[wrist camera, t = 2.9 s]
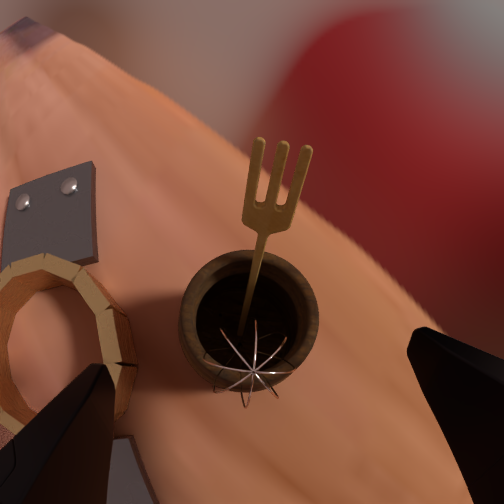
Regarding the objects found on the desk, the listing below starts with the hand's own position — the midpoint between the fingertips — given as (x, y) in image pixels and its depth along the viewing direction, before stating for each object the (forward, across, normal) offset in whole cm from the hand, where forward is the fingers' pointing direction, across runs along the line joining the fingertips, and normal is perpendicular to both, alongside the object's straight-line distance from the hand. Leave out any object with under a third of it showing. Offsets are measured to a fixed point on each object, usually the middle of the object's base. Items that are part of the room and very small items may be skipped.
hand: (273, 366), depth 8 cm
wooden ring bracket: (+7, +12, +6) cm, 15 cm away
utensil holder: (+8, 0, +5) cm, 10 cm away
